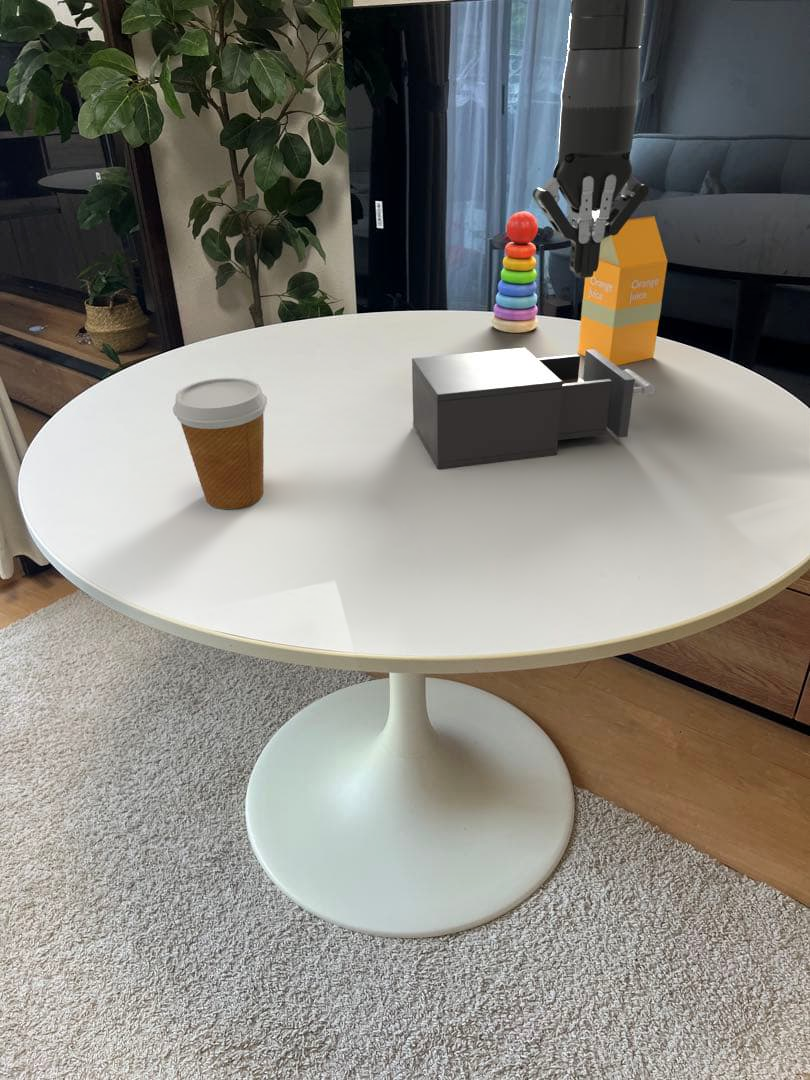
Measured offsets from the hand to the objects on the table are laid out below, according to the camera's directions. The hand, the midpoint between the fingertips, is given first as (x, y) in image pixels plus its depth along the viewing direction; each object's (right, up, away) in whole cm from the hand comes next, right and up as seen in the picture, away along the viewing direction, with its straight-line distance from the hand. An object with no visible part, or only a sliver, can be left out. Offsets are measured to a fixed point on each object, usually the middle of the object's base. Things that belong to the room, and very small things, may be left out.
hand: (583, 275), depth 89 cm
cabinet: (-11, -18, +8) cm, 22 cm away
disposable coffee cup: (-39, -25, -3) cm, 47 cm away
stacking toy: (-1, +7, +47) cm, 48 cm away
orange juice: (+13, -1, +34) cm, 36 cm away
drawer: (+1, -15, +10) cm, 18 cm away
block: (0, -14, +9) cm, 17 cm away
